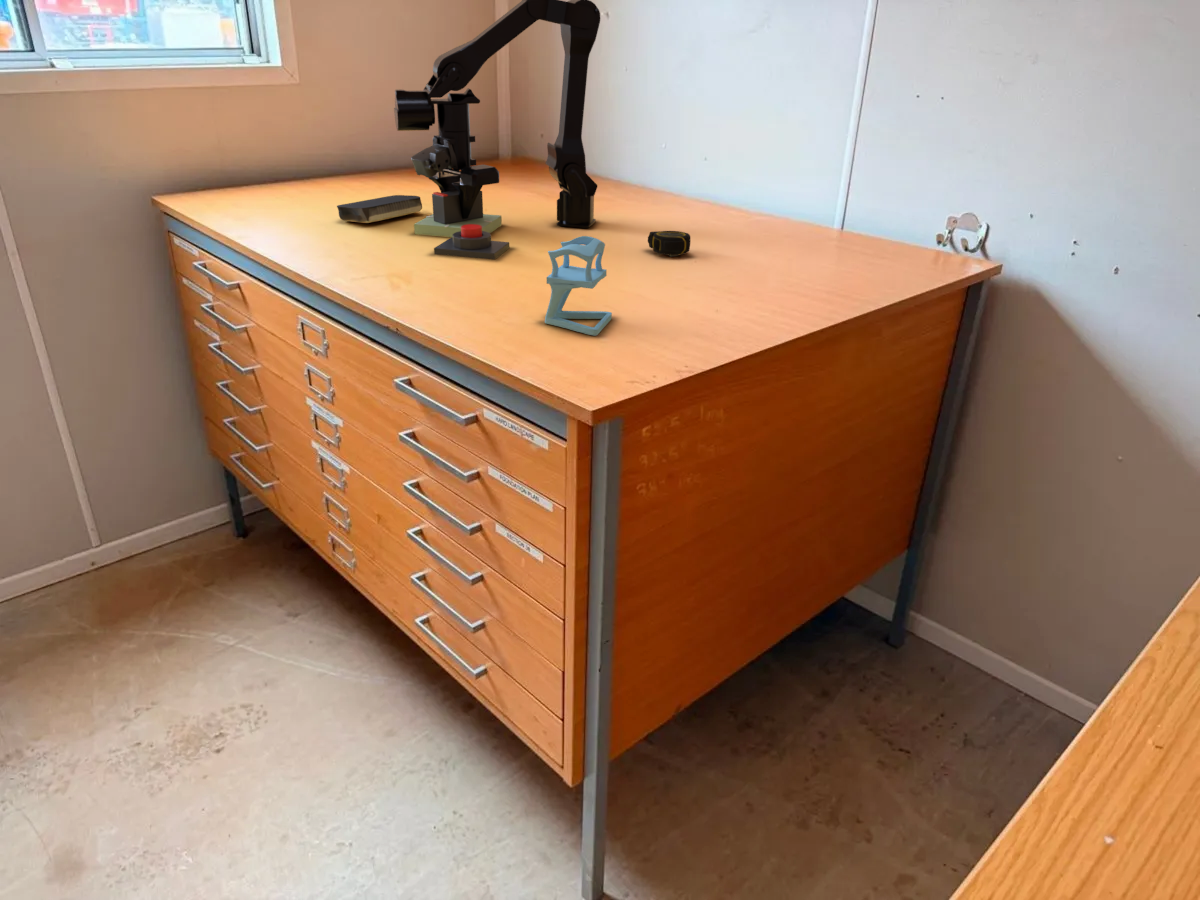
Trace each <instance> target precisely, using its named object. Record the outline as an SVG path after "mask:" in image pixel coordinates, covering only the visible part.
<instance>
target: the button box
mask: <svg viewBox="0 0 1200 900" xmlns="http://www.w3.org/2000/svg"><path fill="white" fill-rule="evenodd" d="M491 234H492V233H488V232H485V231H482V237H477V238H466V237H461V231H460V232H456V233H454V234H452V236H453V237H449V238H448V239H446V240H445V241H443V242H441V243H439V244H438V245H436V246H435V247H433V254H434V255H437V256H446V257H447V256H448V257H457V258H458V257H459V258H460V257H461V258H470V259H471V258H473V259H483V260H493V261H495V260H496V259H497V258H499V257H500V256H502V255H503V254H504V253H506V252H507V251H508V250H510V248H511V247H510V241H499V240H492V235H491Z"/></svg>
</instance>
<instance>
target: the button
mask: <svg viewBox="0 0 1200 900" xmlns="http://www.w3.org/2000/svg"><path fill="white" fill-rule="evenodd" d="M461 237H466V238H477V237H482V226H480V225H476V224H467V225H463V226H461Z"/></svg>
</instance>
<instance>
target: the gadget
mask: <svg viewBox="0 0 1200 900" xmlns="http://www.w3.org/2000/svg"><path fill="white" fill-rule="evenodd" d="M431 198H432V199H431V200H432V201H431V202H432V214H433V217H434V221H436V222H439V223H442V224H450V223H455V222H461V221H466V220H472V219H478V218H483V214H484V203H483V190H480V192H479V194H478V196H477V198H476V200H475V202H474V205H473V207H472V210H471V212H470V214H469V217H468V218H467V219H463V218H462V215H461V209H460V201H459V193H458V190H455V191H448V192H442V193H441V191H440V192H439V191H435V192H434V191H433V193H431Z"/></svg>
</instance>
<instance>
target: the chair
mask: <svg viewBox="0 0 1200 900" xmlns="http://www.w3.org/2000/svg"><path fill="white" fill-rule="evenodd" d="M560 245H561V247H560V248H558V249H555V250H548V251H547V253H548V256H549V260H550V262H551V267H552V269H551V273H550V274H548V275H547V276H546V284H547V285H549V286H550V289H551V293H550V297H549V302H548V306H547V310H546V313H545V317H544V323H545V324H546V325H547V324H548V325H551V326H555V327H560V328H564V329H567V330H571V331H574V332H577V333H581V334H585V335H589V336H593V337H594V336H598V335H599V334H600V333H601V332H602V331H603V329H604V328H605V327H606V326H607V325H608V324H609V323H610V321H612V317H613V316H612V315H613V312H610V311H602V310H600V311H599V310H563V308H564V306H565V304H566V302H567V300H568V299H569V296H570V294H571V292H572V290H574V289H579V288H583V289H592V290H593V289H594V288H595V287H596V286H597V285H598V283H599V282H601V280H603V279H605V277H607V269H605V268H603V265H602V259H603V255H604V251H605V247H606V243H605V242H604V241H602V240H600V239H599V238H596V237H593V236H589V235H582V236H581V235H580V236H578V237H575V238H572V239H571V240H567V241H560ZM570 256H574V257H577V258H579V259H581V260H583V261H585V262H586V266H585V267H581V266H574V265H570ZM559 257H563V263H562V264H561V265H560V266H559V263H558V262H557V260H556V259H557V258H559ZM595 257H596V258H595ZM594 259H595V263H594V265H595V268H592V267H593V266H592V265H593V261H594ZM589 319H590V320H599V321H598V322H597V323H596V324H595V326H590V325H586V324H582V323H579V322H576V321H572V320H589Z"/></svg>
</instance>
